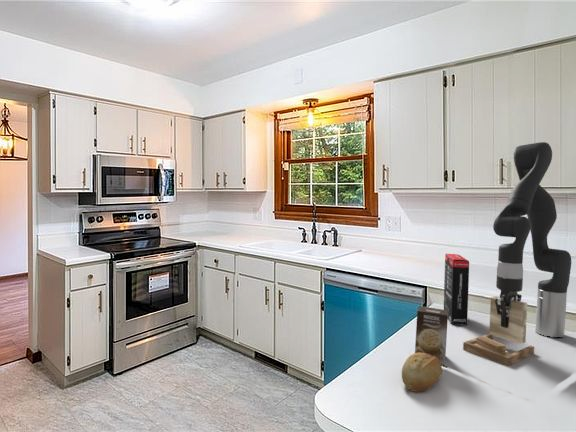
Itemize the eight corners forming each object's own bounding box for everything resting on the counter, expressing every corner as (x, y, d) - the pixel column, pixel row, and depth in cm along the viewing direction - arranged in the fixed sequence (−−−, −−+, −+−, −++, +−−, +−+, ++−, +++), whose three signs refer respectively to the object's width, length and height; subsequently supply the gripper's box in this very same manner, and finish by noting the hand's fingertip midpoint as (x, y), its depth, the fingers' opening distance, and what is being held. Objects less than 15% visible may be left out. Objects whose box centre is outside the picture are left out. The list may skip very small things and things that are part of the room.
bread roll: (447, 378, 106) (448, 351, 106) (431, 400, 94) (433, 369, 94) (413, 368, 112) (414, 342, 112) (395, 387, 100) (396, 358, 100)
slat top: (484, 342, 126) (484, 336, 125) (505, 351, 118) (505, 345, 118) (476, 343, 124) (476, 337, 124) (497, 352, 117) (497, 346, 117)
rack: (489, 342, 135) (490, 333, 134) (533, 357, 123) (534, 346, 123) (462, 352, 125) (463, 342, 125) (508, 369, 113) (508, 358, 113)
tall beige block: (494, 332, 131) (495, 296, 131) (525, 341, 123) (527, 302, 122) (489, 334, 129) (490, 297, 129) (520, 344, 121) (522, 304, 120)
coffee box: (413, 360, 117) (415, 310, 117) (415, 353, 123) (418, 305, 123) (445, 367, 114) (447, 315, 113) (446, 359, 119) (448, 309, 119)
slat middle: (479, 347, 126) (480, 341, 126) (507, 357, 118) (507, 351, 118) (473, 350, 124) (473, 344, 124) (501, 360, 116) (501, 354, 116)
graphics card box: (468, 326, 152) (471, 259, 151) (450, 324, 153) (453, 258, 152) (457, 314, 169) (460, 254, 167) (441, 312, 170) (444, 253, 169)
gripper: (508, 271, 132) (506, 319, 133) (487, 275, 124) (485, 326, 125) (531, 275, 126) (529, 325, 127) (511, 280, 118) (509, 333, 119)
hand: (507, 325), depth 126 cm, fingers closed on tall beige block, 3 cm apart
